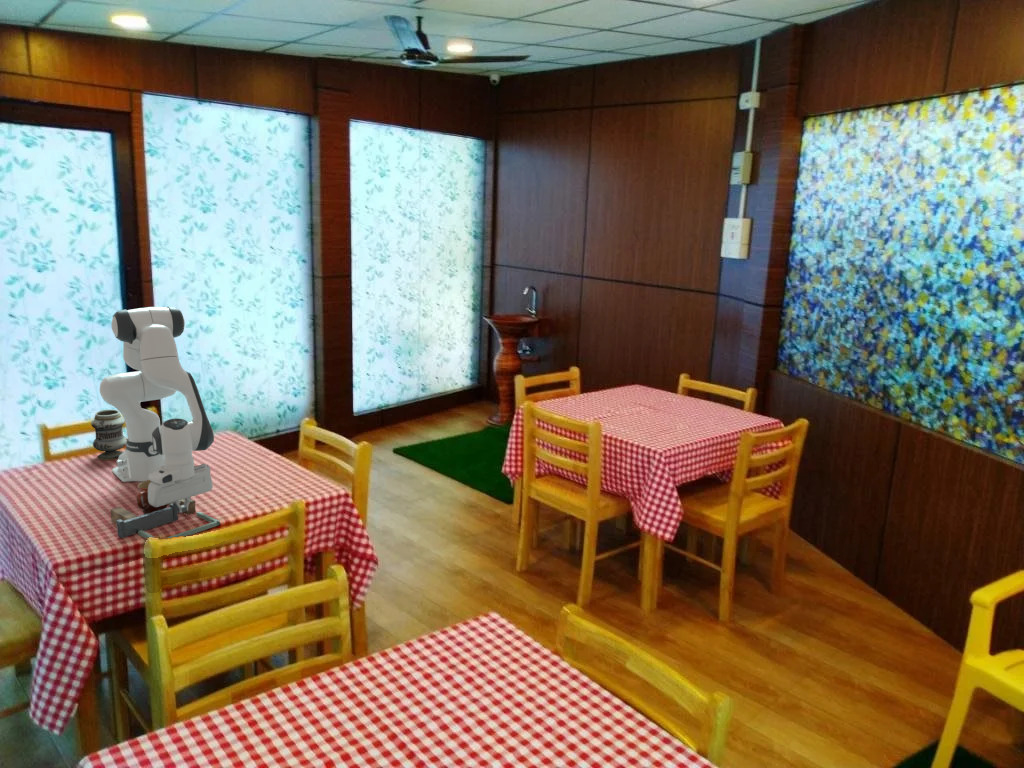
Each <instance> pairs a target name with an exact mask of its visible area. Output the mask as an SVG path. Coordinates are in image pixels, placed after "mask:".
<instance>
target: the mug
mask: <svg viewBox="0 0 1024 768" xmlns="http://www.w3.org/2000/svg"><path fill="white" fill-rule="evenodd" d="M150 482H152V481H150V480H147V481H140V482H139V483H138V484H137V488H138V491H139V492H138V493H137V494H136V496H135V497H136V498H135V501H136V502H135V503H136V505H137V507H138V508H139V509H140V510H142V511H141V512H142V515H145V514H148V513H151V512H154V511H158V510H161V509H164V508H168V506H167V504H166V505H163V506H159V507H154V506H152V505H150V504H149V502H148V486H149V484H150Z"/></svg>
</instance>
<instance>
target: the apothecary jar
mask: <svg viewBox="0 0 1024 768" xmlns="http://www.w3.org/2000/svg"><path fill="white" fill-rule="evenodd" d="M124 424H126V423H125V420H124V417H123V415H122V414H121V413H120V411H119V410H118V409H103V410H98V411H96V412H95V413H94V418H92V420H91V422H90V425H91V427H92V428H93V429H94V431H95V439H94V440H93V442H92V447H93V448H94V449H95V450H97V451H101V453H100V454H98V455H97V459H98V460H102V461H113V460H116V459H117V460H118V458H119V456H120V455H121V454H122V453H123V452H124V451H120V450H121V449H123V448H124V447H126V443H127V442H126V441H127V440H126V439H128V437H126V436H125V435H124V433H123V426H124Z"/></svg>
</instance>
